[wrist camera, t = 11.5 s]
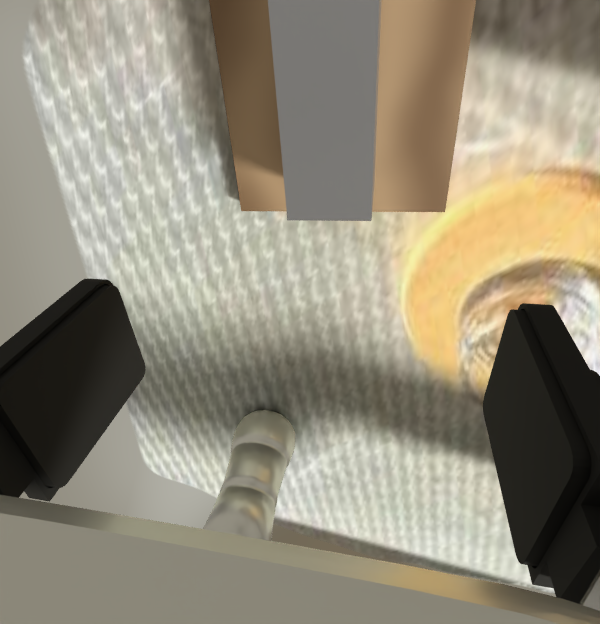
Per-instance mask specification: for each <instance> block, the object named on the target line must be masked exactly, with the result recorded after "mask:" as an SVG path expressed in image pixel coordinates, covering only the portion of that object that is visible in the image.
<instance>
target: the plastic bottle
mask: <svg viewBox="0 0 600 624" xmlns="http://www.w3.org/2000/svg"><path fill="white" fill-rule="evenodd" d="M294 449H295V431H294V429H293V427H292V425H291V423H290V421H289V420H288V419H287V418H286V417H284V416H283V415H281V414H279V413H277V412H274V411H269V410H258V411H254V412H252V413H250V414H248V415H247V416H245V417H244V418H243V419H242V420H241V421H240V423H239V425H238V426H237V428H236V430H235V432H234V436H233V441H232V447H231V456H230V460H229V464H228V468H227V472H226V476H225V480H224V483H223V485H222V488H221V490H220V494H219V495H218V498H217V500H216V503H215V505H214V508H213V510H212V513H211V514H210V516H209V518H208V520H207V522H206V524H205V526H204V528H203V529H205V530H210V531H216V532H222V533H228V534H233V535H239V536H245V537H251V538H256V539H262V540H268V541H271V540H272V528H273V521H274V515H275V507H276V503H277V497H278V493H279V490H280V487H281V483H282V480H283V477H284V474H285V471H286V468H287V466H288V464H289V462H290V460H291V457H292V454H293V452H294Z"/></svg>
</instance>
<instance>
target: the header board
mask: <svg viewBox="0 0 600 624" xmlns="http://www.w3.org/2000/svg"><path fill="white" fill-rule="evenodd" d="M209 3H210V10H211V16H212V23H213V29H214V36H215V42H216V49H217V55H218V62H219V68H220V75H221V81H222V88H223V94H224V101H225V107H226V114H227V120H228V127H229V133H230V140H231V146H232V153H233V159H234V166H235V172H236V179H237V185H238V192H239V198H240V205H241V211H287V209H286V198H285V187H284V176H283V165H282V154H281V142H280V131H279V120H278V109H277V98H276V86H275V75H274V64H273V53H272V42H271V31H270V19H269V8H268V0H209ZM475 3H476V0H382V1H381V26H380V52H379V78H378V104H377V130H376V156H375V182H374V195H373V207H372V212H445V208H446V201H447V194H448V187H449V181H450V174H451V167H452V160H453V153H454V147H455V140H456V133H457V126H458V119H459V112H460V106H461V99H462V92H463V85H464V78H465V72H466V65H467V58H468V51H469V44H470V37H471V31H472V24H473V17H474V10H475Z"/></svg>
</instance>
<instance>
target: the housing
mask: <svg viewBox="0 0 600 624" xmlns="http://www.w3.org/2000/svg"><path fill="white" fill-rule="evenodd" d="M381 1H382V0H268V8H269V19H270V31H271V42H272V53H273V64H274V75H275V86H276V98H277V109H278V120H279V131H280V142H281V154H282V165H283V176H284V187H285V198H286V209H287V220H335V221H371V220H372V207H373V195H374V182H375V156H376V130H377V104H378V78H379V52H380V26H381Z"/></svg>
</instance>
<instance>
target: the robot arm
mask: <svg viewBox="0 0 600 624" xmlns="http://www.w3.org/2000/svg"><path fill="white" fill-rule="evenodd" d="M144 374H145V363H144V360H143V358H142V355H141V352H140V349H139V346H138V343H137V340H136V338H135V335H134V332H133V329H132V326H131V323H130V321H129V318H128V315H127V312H126V309H125V306H124V303H123V301H122V298H121V295H120V292H119V290H118V288H117V287H115V286H113V284H112V283H111V282H110V281H108V280H102V279H84V280H82V281H80V282H79V283H78V284H77V285H76V286H74V287H73V288H72V289H71V290H69V291H68V292H67V293H66V294H64V295H63V296H62V297H61V298H59V300H57V301H56V302H55V303H54V304H52V305H51V306H50V307H49V308H47V309H46V310H45V311H43V312H42V313H41V314H40V315H39V316H37V317H36V318H35V319H34V320H32V321H31V322H30V323H29V324H27V325H26V326H25V327H24V328H23V329H21V330H20V331H19V332H18V333H16V334H15V335H14V336H13V337H11V338H10V339H9V340H8V341H7V342H5V343H4V344H3V345H2V346H1V347H0V624H600V376H599V375H598V373H597V372H595V371H593V370H590V369H589V367H588V366H587V364H586V362H585V360H584V358H583V357H582V355H581V353H580V351H579V350H578V348H577V346H576V344H575V343H574V341H573V339H572V337H571V336H570V334H569V332H568V330H567V328H566V327H565V325H564V323H563V321H562V320H561V318H560V316H559V314H558V313H557V311H556V309H555V308H554V306H552V305H541V304H524V303H523V304H521V305H520V306H519V308H518V310H510V312H509V313H508V316H507V320H506V323H505V327H504V330H503V334H502V337H501V340H500V344H499V347H498V351H497V354H496V358H495V361H494V365H493V368H492V372H491V375H490V379H489V382H488V385H487V389H486V392H485V396H484V401H483V412H484V417H485V422H486V426H487V430H488V435H489V439H490V443H491V448H492V452H493V457H494V461H495V465H496V470H497V474H498V478H499V483H500V487H501V492H502V496H503V500H504V505H505V509H506V513H507V518H508V522H509V527H510V531H511V535H512V540H513V544H514V548H515V553H516V556H517V559H518V561H519V562H520V564H525V565H528V568H529V573H530V577H531V581H532V585H538V586H544V587H550V588H554V591H555V594H556V597H553V596H549V595H545V594H541V593H537V592H532V591H529V590H524V589H520V588H516V587H512V586H508V585H504V584H499V583H494V582H488V581H484V580H478V579H473V578H468V577H463V576H458V575H453V574H448V573H443V572H438V571H432V570H427V569H422V568H417V567H412V566H407V565H402V564H397V563H391V562H385V561H380V560H374V559H369V558H363V557H357V556H351V555H346V554H340V553H335V552H329V551H323V550H318V549H312V548H307V547H301V546H296V545H290V544H284V543H279V542H273V541H268V540H262V539H256V538H251V537H245V536H239V535H233V534H228V533H222V532H216V531H210V530H205V529H199V528H193V527H187V526H182V525H176V524H170V523H164V522H159V521H153V520H147V519H141V518H135V517H129V516H124V515H117V514H112V513H106V512H100V511H94V510H88V509H83V508H77V507H70V506H65V505H59V504H52V503H47V502H41V501H35V500H28V499H23V498H19V497H20V495H21V494H22V493H23V491H24V492H25V493H26V494H27V496H28V497H29V498H33V499H39V500H45V501H50V500H51V499H52V498H53V496H54V495H55V494H56V492H57V491H58V489H59V488H61V487H63V486H65V485H66V484H67V483H68V481H69V480H70V479H71V478H72V476H73V475H74V473H75V472H76V471H77V469H78V468H79V466H80V465H81V464H82V462H83V461H84V459H85V458H86V457H87V455H88V454H89V452H90V451H91V450H92V448H93V447H94V445H95V444H96V443H97V441H98V440H99V438H100V437H101V436H102V434H103V433H104V432H105V430H106V429H107V427H108V426H109V425H110V423H111V422H112V420H113V419H114V417H115V416H116V415H117V413H118V412H119V411H120V409H121V408H122V406H123V405H124V404H125V402H126V401H127V399H128V398H129V397H130V395H131V394H132V392H133V391H134V390H135V388H136V387H137V385H138V384H139V383H140V381H141V380H142V378H143V377H144Z"/></svg>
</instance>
